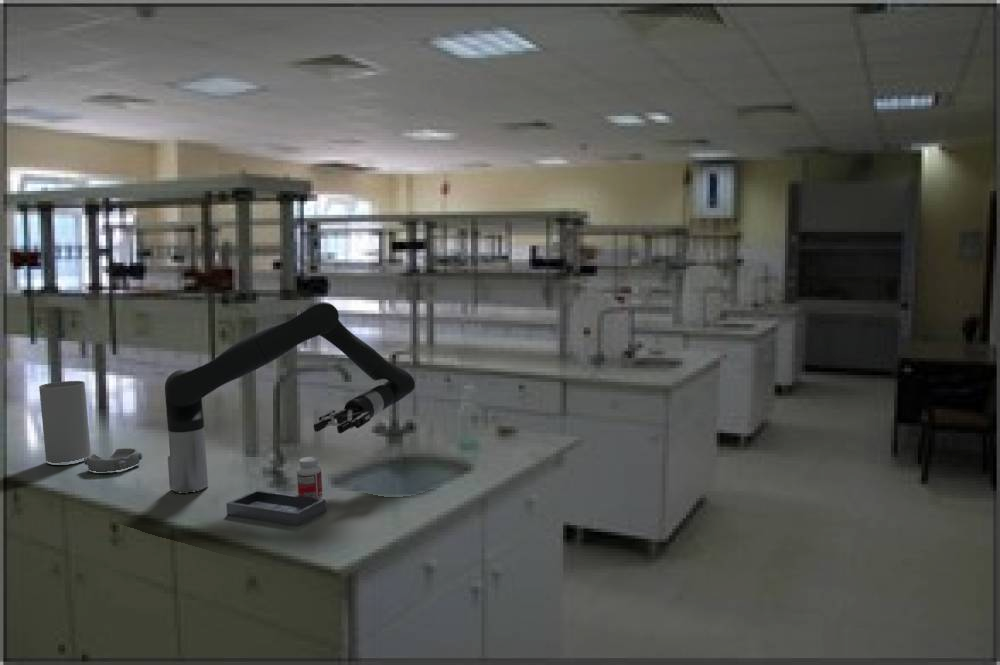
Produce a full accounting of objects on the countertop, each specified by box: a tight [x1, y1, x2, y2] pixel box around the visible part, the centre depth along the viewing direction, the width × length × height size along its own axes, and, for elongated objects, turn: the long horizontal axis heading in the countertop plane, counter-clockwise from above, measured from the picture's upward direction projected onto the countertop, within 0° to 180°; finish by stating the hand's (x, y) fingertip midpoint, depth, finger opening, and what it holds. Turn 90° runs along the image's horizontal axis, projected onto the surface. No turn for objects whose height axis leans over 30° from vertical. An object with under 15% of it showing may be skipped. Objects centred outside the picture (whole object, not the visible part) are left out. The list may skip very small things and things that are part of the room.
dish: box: [83, 447, 143, 472], centre depth 229 cm, size 14×14×5 cm
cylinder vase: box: [38, 380, 92, 463], centre depth 237 cm, size 12×12×25 cm
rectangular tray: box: [225, 489, 327, 527], centre depth 187 cm, size 22×11×3 cm, turn 67°
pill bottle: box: [296, 456, 324, 499], centre depth 196 cm, size 6×6×11 cm
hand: (326, 429), depth 201 cm, fingers open, 8 cm apart
